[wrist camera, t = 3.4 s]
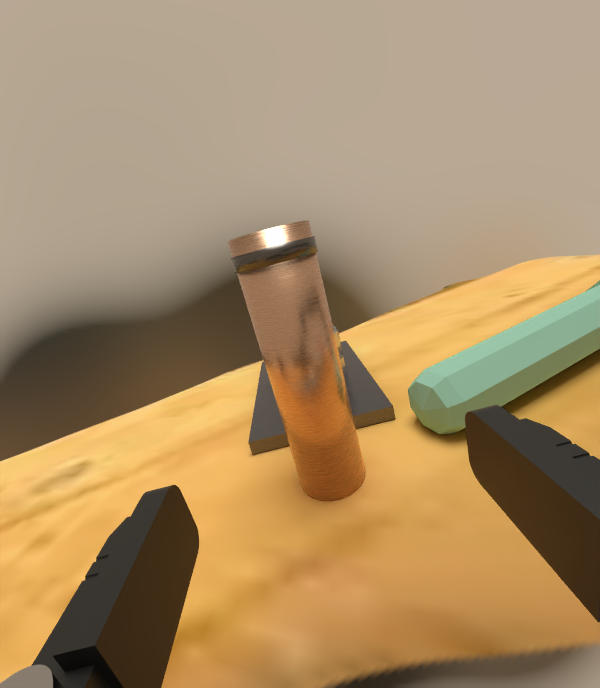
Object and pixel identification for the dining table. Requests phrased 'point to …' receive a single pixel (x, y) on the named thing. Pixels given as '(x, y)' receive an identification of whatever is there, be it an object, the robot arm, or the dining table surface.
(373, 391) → the stove plate
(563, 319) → the container
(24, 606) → the dining table surface
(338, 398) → the metal tube
